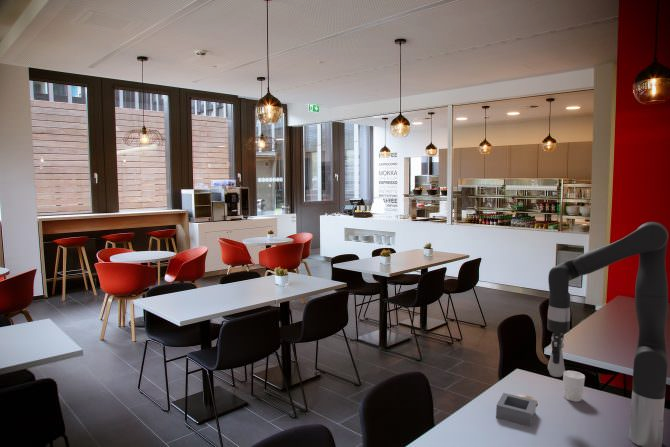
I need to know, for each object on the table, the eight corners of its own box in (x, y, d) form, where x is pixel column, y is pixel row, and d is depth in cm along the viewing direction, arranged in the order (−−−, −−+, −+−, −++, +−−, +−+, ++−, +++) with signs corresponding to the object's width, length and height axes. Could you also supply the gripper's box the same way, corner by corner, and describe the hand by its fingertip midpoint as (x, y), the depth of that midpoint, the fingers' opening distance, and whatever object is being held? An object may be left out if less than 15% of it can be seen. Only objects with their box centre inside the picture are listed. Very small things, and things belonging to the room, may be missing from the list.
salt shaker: (566, 378, 174) (567, 344, 173) (549, 377, 175) (551, 343, 174) (561, 372, 180) (563, 339, 179) (545, 371, 181) (547, 338, 180)
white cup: (557, 395, 196) (559, 372, 195) (570, 392, 199) (572, 369, 198) (574, 403, 188) (575, 379, 188) (587, 400, 192) (589, 376, 191)
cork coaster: (538, 399, 192) (538, 398, 191) (535, 408, 184) (535, 407, 184) (515, 394, 196) (515, 392, 196) (511, 402, 188) (511, 401, 188)
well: (535, 412, 181) (536, 400, 180) (530, 426, 170) (530, 413, 170) (502, 404, 187) (503, 392, 186) (495, 417, 177) (496, 404, 176)
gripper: (568, 324, 168) (565, 371, 169) (571, 315, 180) (569, 358, 181) (545, 321, 172) (543, 367, 173) (550, 312, 184) (548, 355, 185)
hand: (556, 362), depth 177 cm, fingers closed on salt shaker, 3 cm apart
